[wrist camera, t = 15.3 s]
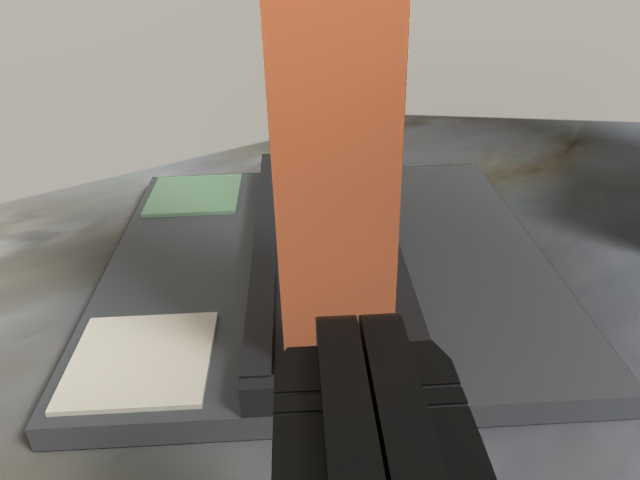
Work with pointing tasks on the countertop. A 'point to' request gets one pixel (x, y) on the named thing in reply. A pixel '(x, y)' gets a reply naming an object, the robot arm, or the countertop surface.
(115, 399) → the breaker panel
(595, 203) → the countertop surface
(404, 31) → the handle
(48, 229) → the countertop surface
